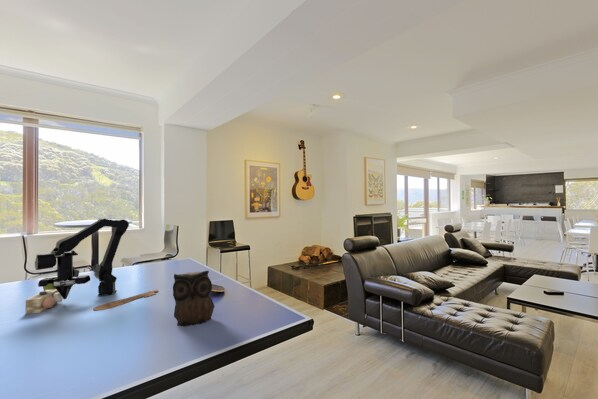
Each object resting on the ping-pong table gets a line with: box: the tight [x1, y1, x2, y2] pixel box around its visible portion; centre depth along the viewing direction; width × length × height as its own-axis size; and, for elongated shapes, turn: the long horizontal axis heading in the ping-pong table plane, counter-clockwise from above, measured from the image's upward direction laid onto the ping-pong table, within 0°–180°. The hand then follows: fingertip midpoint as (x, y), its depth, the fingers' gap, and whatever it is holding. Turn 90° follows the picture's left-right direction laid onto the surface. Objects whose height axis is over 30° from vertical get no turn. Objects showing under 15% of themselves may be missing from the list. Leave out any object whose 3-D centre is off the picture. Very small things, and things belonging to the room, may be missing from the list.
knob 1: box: [42, 297, 55, 309], centre depth 126 cm, size 7×4×4 cm, turn 103°
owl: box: [172, 270, 215, 328], centre depth 112 cm, size 13×13×20 cm
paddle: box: [92, 289, 159, 312], centre depth 138 cm, size 8×30×2 cm, turn 149°
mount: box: [25, 289, 59, 315], centre depth 129 cm, size 5×14×7 cm, turn 13°
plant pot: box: [42, 276, 57, 291], centre depth 145 cm, size 9×9×9 cm
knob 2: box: [52, 293, 64, 304], centre depth 133 cm, size 7×4×4 cm, turn 103°
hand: (65, 298), depth 134 cm, fingers closed
